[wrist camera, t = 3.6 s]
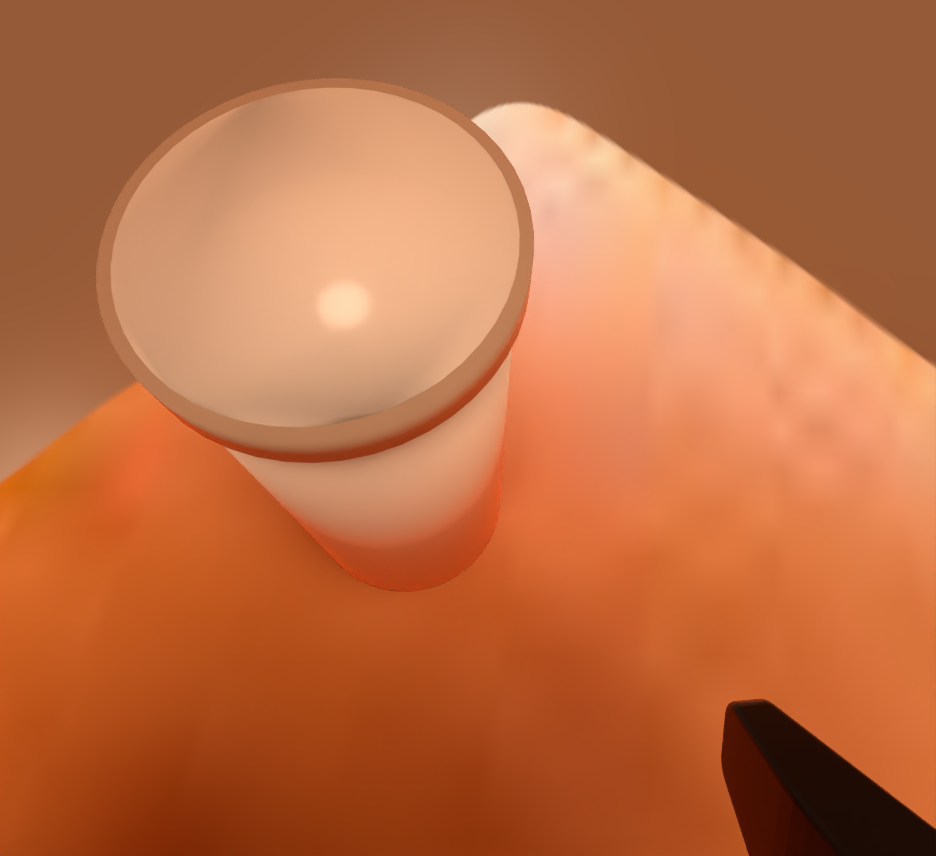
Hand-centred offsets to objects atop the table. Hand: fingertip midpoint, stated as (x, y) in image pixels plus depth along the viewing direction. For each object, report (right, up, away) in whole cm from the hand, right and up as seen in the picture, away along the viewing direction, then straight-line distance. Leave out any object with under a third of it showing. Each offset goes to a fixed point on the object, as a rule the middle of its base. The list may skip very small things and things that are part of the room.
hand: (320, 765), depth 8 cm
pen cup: (0, +2, +14) cm, 14 cm away
